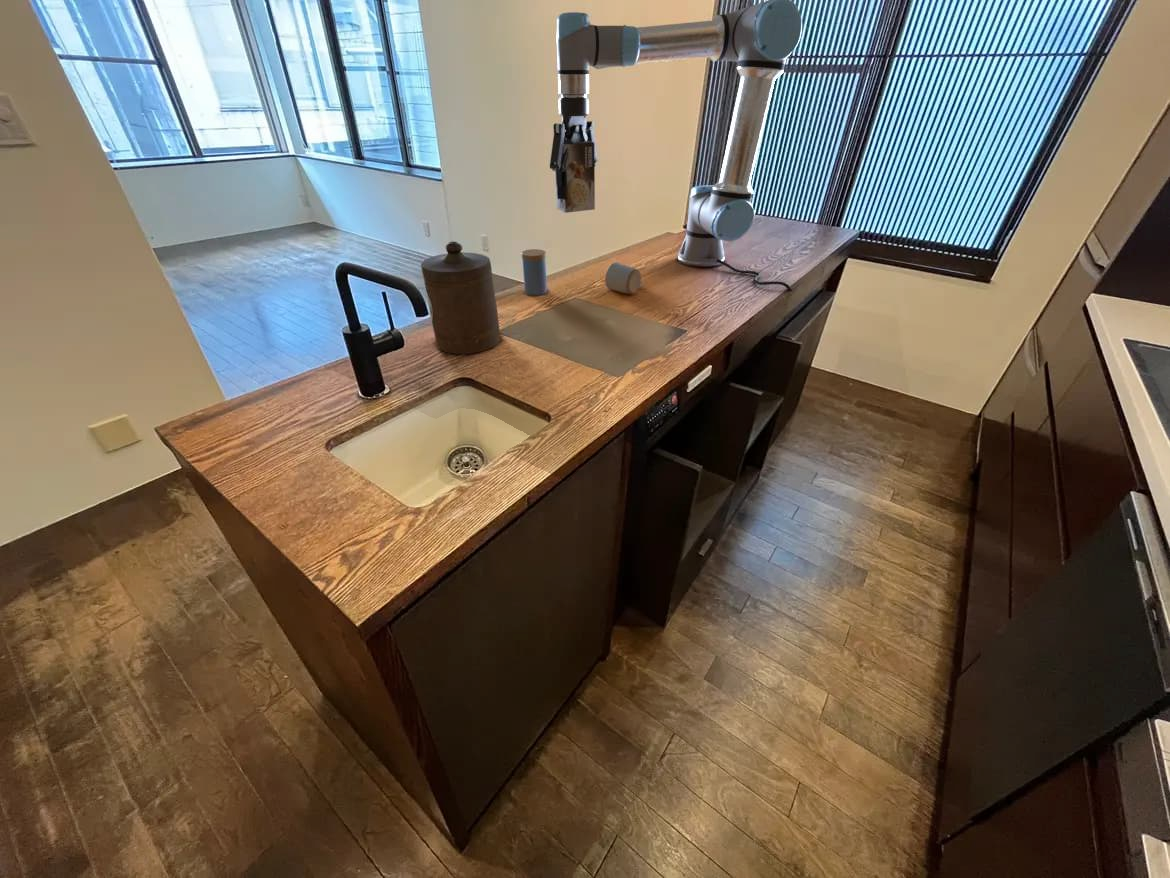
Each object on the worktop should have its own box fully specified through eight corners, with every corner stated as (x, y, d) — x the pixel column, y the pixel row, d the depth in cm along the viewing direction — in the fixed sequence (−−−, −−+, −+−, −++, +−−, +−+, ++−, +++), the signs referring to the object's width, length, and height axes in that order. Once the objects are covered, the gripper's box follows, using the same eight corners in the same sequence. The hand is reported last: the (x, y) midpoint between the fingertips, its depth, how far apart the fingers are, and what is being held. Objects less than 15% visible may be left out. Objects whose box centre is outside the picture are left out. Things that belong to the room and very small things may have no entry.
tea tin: (552, 290, 141) (550, 251, 134) (537, 297, 136) (534, 257, 130) (534, 286, 144) (531, 247, 137) (519, 292, 139) (516, 253, 133)
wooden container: (458, 324, 121) (442, 231, 108) (511, 332, 117) (501, 236, 104) (423, 349, 109) (400, 248, 96) (480, 358, 105) (465, 255, 92)
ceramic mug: (627, 298, 135) (629, 270, 130) (604, 292, 139) (605, 264, 135) (647, 288, 142) (650, 262, 137) (624, 283, 146) (626, 256, 141)
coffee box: (584, 205, 137) (584, 139, 128) (595, 210, 133) (595, 141, 123) (555, 209, 134) (553, 141, 125) (565, 213, 129) (563, 143, 120)
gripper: (588, 95, 128) (588, 188, 141) (531, 97, 113) (537, 201, 126) (612, 96, 124) (609, 191, 137) (556, 97, 109) (559, 204, 122)
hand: (575, 196), depth 131 cm, fingers closed on coffee box, 10 cm apart
